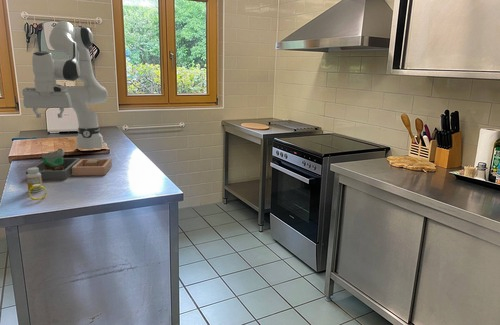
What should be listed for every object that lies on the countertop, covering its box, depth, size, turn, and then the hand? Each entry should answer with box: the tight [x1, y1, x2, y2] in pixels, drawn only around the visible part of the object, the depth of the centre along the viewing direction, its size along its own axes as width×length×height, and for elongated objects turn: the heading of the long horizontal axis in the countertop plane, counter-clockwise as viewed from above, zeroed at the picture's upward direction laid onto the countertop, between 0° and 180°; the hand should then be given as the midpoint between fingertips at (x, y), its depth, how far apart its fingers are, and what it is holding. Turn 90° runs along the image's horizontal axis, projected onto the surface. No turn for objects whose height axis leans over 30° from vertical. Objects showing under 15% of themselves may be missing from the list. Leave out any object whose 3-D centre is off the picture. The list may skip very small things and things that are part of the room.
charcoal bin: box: [25, 157, 82, 181], centre depth 181 cm, size 24×17×4 cm
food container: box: [41, 148, 65, 171], centre depth 183 cm, size 12×6×10 cm, turn 168°
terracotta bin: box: [72, 158, 113, 176], centre depth 185 cm, size 16×15×4 cm
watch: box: [28, 184, 47, 201], centre depth 146 cm, size 6×3×6 cm, turn 119°
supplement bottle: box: [25, 166, 44, 193], centre depth 155 cm, size 5×5×10 cm
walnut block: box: [86, 160, 99, 167], centre depth 185 cm, size 5×5×5 cm
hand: (49, 117), depth 174 cm, fingers open, 8 cm apart
